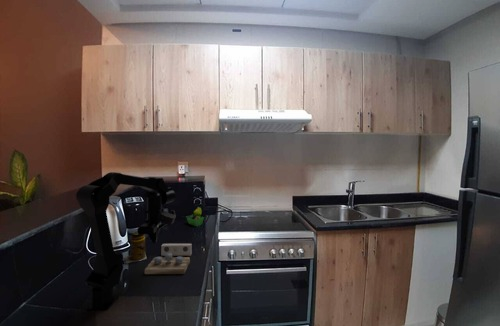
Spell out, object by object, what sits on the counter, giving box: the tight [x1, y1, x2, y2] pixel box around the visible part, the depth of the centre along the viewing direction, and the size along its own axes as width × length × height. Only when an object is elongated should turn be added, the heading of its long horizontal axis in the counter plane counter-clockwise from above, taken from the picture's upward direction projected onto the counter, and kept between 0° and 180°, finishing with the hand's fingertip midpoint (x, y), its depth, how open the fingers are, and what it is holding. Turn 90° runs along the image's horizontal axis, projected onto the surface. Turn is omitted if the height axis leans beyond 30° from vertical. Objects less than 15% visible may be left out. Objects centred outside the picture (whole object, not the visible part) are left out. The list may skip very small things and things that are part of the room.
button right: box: [175, 256, 184, 264], centre depth 94 cm, size 3×3×4 cm
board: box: [144, 256, 191, 275], centre depth 94 cm, size 10×16×2 cm, turn 93°
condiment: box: [125, 231, 148, 264], centre depth 102 cm, size 7×8×12 cm
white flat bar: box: [160, 243, 193, 257], centre depth 106 cm, size 2×14×5 cm, turn 92°
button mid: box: [164, 253, 173, 264], centre depth 94 cm, size 3×3×4 cm
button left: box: [153, 256, 163, 264], centre depth 94 cm, size 3×3×4 cm
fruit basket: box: [186, 206, 205, 227], centre depth 152 cm, size 11×9×11 cm
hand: (154, 242), depth 92 cm, fingers closed
